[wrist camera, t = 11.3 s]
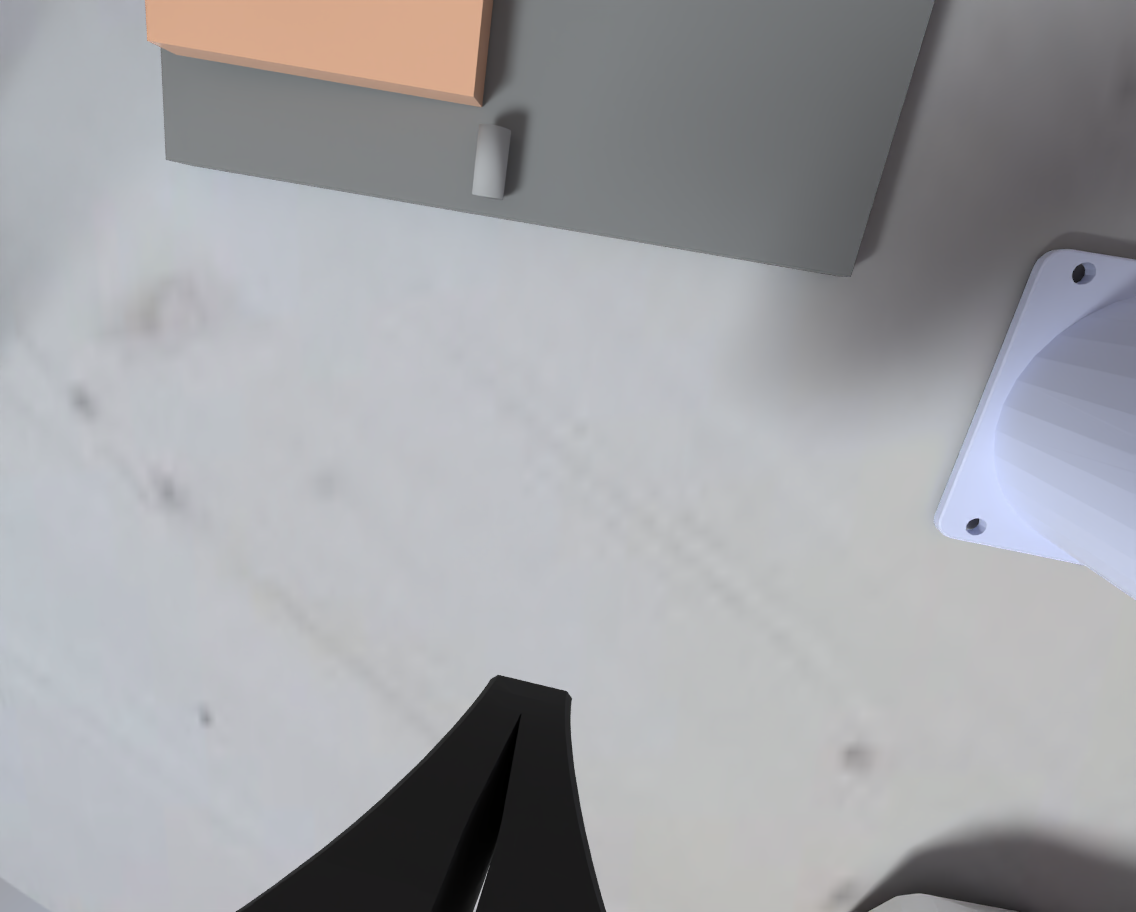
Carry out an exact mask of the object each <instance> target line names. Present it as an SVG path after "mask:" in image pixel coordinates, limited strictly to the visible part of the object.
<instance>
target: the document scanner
mask: <svg viewBox="0 0 1136 912" xmlns="http://www.w3.org/2000/svg"><path fill="white" fill-rule="evenodd" d="M868 912H1018V911H1013V910H1007V909H1002V908H997V907H991V906H986V905H980V904H975V903H970V902H964V901H959V900H953V899H948V898H943V897H937V896H932V895H927V894H921V893H918V894H910V895H902V896H896V897H894V898H892V899H890V900H888V901H887V902H885V903H883V904H881V905H879V906H878V907H876V908H874V909H872V910H870V911H868Z"/></svg>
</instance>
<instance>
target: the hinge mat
mask: <svg viewBox="0 0 1136 912" xmlns="http://www.w3.org/2000/svg"><path fill="white" fill-rule="evenodd" d="M934 2H935V0H493V8H492V18H491V27H490V37H489V46H488V56H487V65H486V75H485V84H484V94H483V103H482V107H477V106H471V105H465V104H460V103H454V102H448V101H442V100H436V99H430V98H425V97H419V96H413V95H407V94H401V93H396V92H390V91H384V90H378V89H372V88H367V87H361V86H355V85H349V84H343V83H337V82H332V81H326V80H320V79H314V78H308V77H303V76H297V75H291V74H285V73H279V72H274V71H268V70H262V69H256V68H250V67H245V66H239V65H233V64H227V63H221V62H215V61H210V60H204V59H198V58H192V57H186V56H181V55H176V54H174V53H172V52H170V51H167V50H165V49H163V48H161V64H162V86H163V107H164V129H165V150H166V160H170V161H174V162H178V163H183V164H187V165H191V166H197V167H203V168H209V169H214V170H220V171H226V172H232V173H238V174H244V175H249V176H255V177H261V178H267V179H273V180H279V181H285V182H290V183H296V184H302V185H308V186H314V187H320V188H325V189H331V190H337V191H343V192H349V193H355V194H361V195H366V196H372V197H378V198H384V199H390V200H396V201H401V202H407V203H413V204H419V205H425V206H431V207H437V208H442V209H448V210H454V211H460V212H466V213H472V214H477V215H483V216H489V217H495V218H501V219H507V220H513V221H518V222H524V223H530V224H536V225H542V226H548V227H553V228H559V229H565V230H571V231H577V232H583V233H589V234H594V235H600V236H606V237H612V238H618V239H624V240H629V241H635V242H641V243H647V244H653V245H659V246H665V247H670V248H676V249H682V250H688V251H694V252H700V253H705V254H711V255H717V256H723V257H729V258H735V259H740V260H746V261H752V262H758V263H764V264H770V265H776V266H781V267H787V268H793V269H799V270H805V271H811V272H816V273H822V274H828V275H834V276H845V277H851V274H852V271H853V267H854V264H855V261H856V258H857V254H858V251H859V248H860V244H861V241H862V238H863V235H864V231H865V228H866V225H867V222H868V218H869V215H870V212H871V208H872V205H873V202H874V199H875V195H876V192H877V189H878V186H879V182H880V179H881V176H882V172H883V169H884V166H885V163H886V159H887V156H888V153H889V149H890V146H891V143H892V140H893V136H894V133H895V130H896V127H897V123H898V120H899V117H900V113H901V110H902V107H903V104H904V100H905V97H906V94H907V90H908V87H909V84H910V81H911V77H912V74H913V71H914V68H915V64H916V61H917V58H918V54H919V51H920V48H921V45H922V41H923V38H924V35H925V32H926V28H927V25H928V22H929V18H930V15H931V12H932V9H933V5H934Z"/></svg>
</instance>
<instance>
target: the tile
mask: <svg viewBox="0 0 1136 912" xmlns="http://www.w3.org/2000/svg"><path fill="white" fill-rule="evenodd" d="M145 6H146V25H147V41H149V42H151V43H153V44H155V45H157V46H159V47H161V48H163V49H165V50H167V51H170V52H172V53H174V54H176V55H181V56H186V57H192V58H198V59H204V60H210V61H215V62H221V63H227V64H233V65H239V66H245V67H250V68H256V69H262V70H268V71H274V72H279V73H285V74H291V75H297V76H303V77H308V78H314V79H320V80H326V81H332V82H337V83H343V84H349V85H355V86H361V87H367V88H372V89H378V90H384V91H390V92H396V93H401V94H407V95H413V96H419V97H425V98H430V99H436V100H442V101H448V102H454V103H460V104H465V105H471V106H477V107H482V103H483V94H484V84H485V75H486V65H487V56H488V46H489V37H490V27H491V18H492V8H493V0H145Z"/></svg>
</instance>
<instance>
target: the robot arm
mask: <svg viewBox="0 0 1136 912" xmlns="http://www.w3.org/2000/svg"><path fill="white" fill-rule="evenodd" d="M1080 264H1082V265H1083V266H1084V268H1085V275H1084V277H1083V278H1082V279H1081V281H1079V282H1077V283H1075V282H1074V281H1073V279H1072V273H1073V270H1074V269H1075V268H1076V266H1078V265H1080ZM975 518H979V524H978V525H977V526H976V527H975V528H973V529H969V530H966V525H967V524H968V522H969V521H970V520H972V519H975ZM934 523H935V526H936V528H937V529H938V530H939V531H940V532H941V533H942V534H944V535H945V536H947V537H950V538H953V539H958V540H963V541H968V542H973V543H978V544H982V545H987V546H992V547H997V548H1002V549H1007V550H1012V551H1017V552H1021V553H1026V554H1031V555H1036V556H1041V557H1046V558H1051V559H1056V560H1060V561H1065V562H1070V563H1075V564H1080V565H1085V566H1087V567H1088V568H1090V569H1091V570H1092V571H1094V572H1095V573H1097V574H1098V575H1100V576H1101V577H1103V578H1104V579H1106V580H1107V581H1109V582H1110V583H1111V584H1113V585H1114V586H1116V587H1117V588H1119V589H1120V590H1122V591H1123V592H1125V593H1126V594H1128V595H1129V596H1130V597H1132V598H1133V599H1135V600H1136V260H1135V259H1129V258H1123V257H1116V256H1110V255H1104V254H1098V253H1092V252H1085V251H1079V250H1073V249H1059V250H1052V251H1050V252H1047V253H1045V254H1044V255H1043V256H1041V257H1040V258H1039V259H1038V260H1037V262H1036V263H1035V265H1034V267H1033V269H1032V272H1031V274H1030V277H1029V279H1028V282H1027V284H1026V287H1025V289H1024V292H1023V294H1022V297H1021V299H1020V302H1019V304H1018V307H1017V309H1016V312H1015V314H1014V317H1013V319H1012V322H1011V324H1010V327H1009V329H1008V332H1007V334H1006V337H1005V340H1004V342H1003V345H1002V347H1001V350H1000V352H999V355H998V357H997V360H996V362H995V365H994V367H993V370H992V372H991V375H990V377H989V380H988V382H987V385H986V387H985V390H984V392H983V395H982V397H981V400H980V402H979V405H978V407H977V410H976V412H975V415H974V417H973V420H972V422H971V425H970V427H969V430H968V433H967V435H966V438H965V440H964V443H963V445H962V448H961V450H960V453H959V455H958V458H957V460H956V463H955V465H954V468H953V470H952V473H951V475H950V478H949V480H948V483H947V485H946V488H945V490H944V493H943V495H942V498H941V500H940V503H939V505H938V508H937V510H936V513H935V516H934ZM571 701H572V698H571V697H570V695H569V694H568V692H567V691H564V690H559V689H555V688H551V687H547V686H543V685H538V684H534V683H530V682H526V681H522V680H518V679H513V678H509V677H505V676H501V675H497V676H496V677H494V678H492V679H491V680H490V681H489V683H488V684H487V686H486V687H485V689H484V690H483V691H482V693H481V694H480V695H479V697H478V698H477V699H476V700H475V702H474V703H473V704H472V705H471V707H470V708H469V709H468V710H467V711H466V713H465V714H464V715H463V716H462V717H461V718H460V720H459V721H458V722H457V723H456V724H455V725H454V726H453V728H452V729H451V730H450V731H449V732H448V733H447V734H446V735H445V736H444V737H443V738H442V739H441V740H440V742H439V743H438V744H437V745H436V746H435V747H434V748H433V749H432V750H431V751H430V752H429V753H428V754H427V755H426V756H425V757H424V759H423V760H422V761H421V762H420V763H419V764H418V765H417V766H416V767H414V768H413V769H412V770H411V771H410V772H409V773H408V774H407V775H406V776H405V777H404V778H403V779H402V780H401V781H400V782H399V783H398V784H397V785H396V786H394V787H393V788H392V789H391V790H390V791H389V792H388V793H387V794H386V795H385V796H384V797H383V798H382V799H381V800H380V801H379V802H377V803H376V804H375V805H374V806H373V807H372V808H371V809H370V810H368V811H367V812H366V813H365V814H364V815H363V816H362V817H360V818H359V819H358V820H357V821H356V822H354V823H353V824H352V825H351V826H350V827H349V828H347V829H346V830H345V831H344V832H342V833H341V834H340V835H339V836H338V837H336V838H335V839H334V840H333V841H331V842H330V843H329V844H328V845H326V846H325V847H324V848H323V849H321V850H320V851H319V852H318V853H316V854H315V855H314V856H312V857H311V858H310V859H308V860H307V861H306V862H304V863H303V864H302V865H300V866H299V867H298V868H296V869H295V870H294V871H292V872H291V873H290V874H288V875H287V876H286V877H284V878H283V879H282V880H280V881H279V882H278V883H276V884H275V885H274V886H272V887H271V888H269V889H268V890H267V891H265V892H264V893H262V894H261V895H259V896H258V897H257V898H255V899H254V900H252V901H251V902H249V903H248V904H247V905H245V906H244V907H242V908H241V909H239V910H238V911H236V912H473V910H474V907H475V904H476V902H477V899H478V896H479V893H480V891H481V888H482V885H483V882H484V879H485V877H486V880H485V883H484V886H483V890H482V893H481V896H480V899H479V903H478V906H477V909H476V912H606V910H605V906H604V903H603V900H602V896H601V892H600V889H599V885H598V881H597V878H596V874H595V870H594V866H593V862H592V858H591V853H590V849H589V845H588V840H587V836H586V832H585V827H584V822H583V817H582V812H581V807H580V801H579V795H578V789H577V783H576V777H575V770H574V762H573V753H572V742H571V727H570V714H571ZM488 868H489V870H488ZM487 871H488V873H487ZM486 874H487V876H486Z"/></svg>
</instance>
